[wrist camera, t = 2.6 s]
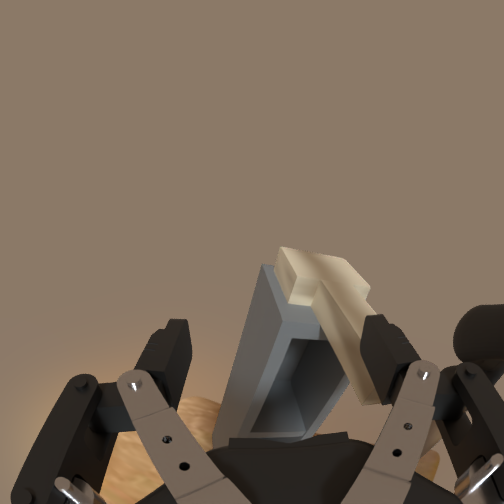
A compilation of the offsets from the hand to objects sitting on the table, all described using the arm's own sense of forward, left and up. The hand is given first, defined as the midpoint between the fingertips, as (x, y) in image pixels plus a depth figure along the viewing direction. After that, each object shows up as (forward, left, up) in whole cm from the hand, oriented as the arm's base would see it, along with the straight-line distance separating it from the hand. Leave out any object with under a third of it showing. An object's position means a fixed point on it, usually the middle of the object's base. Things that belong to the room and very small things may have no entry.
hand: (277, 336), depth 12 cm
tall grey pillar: (-7, -11, -36) cm, 38 cm away
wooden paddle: (-7, -7, -4) cm, 11 cm away
